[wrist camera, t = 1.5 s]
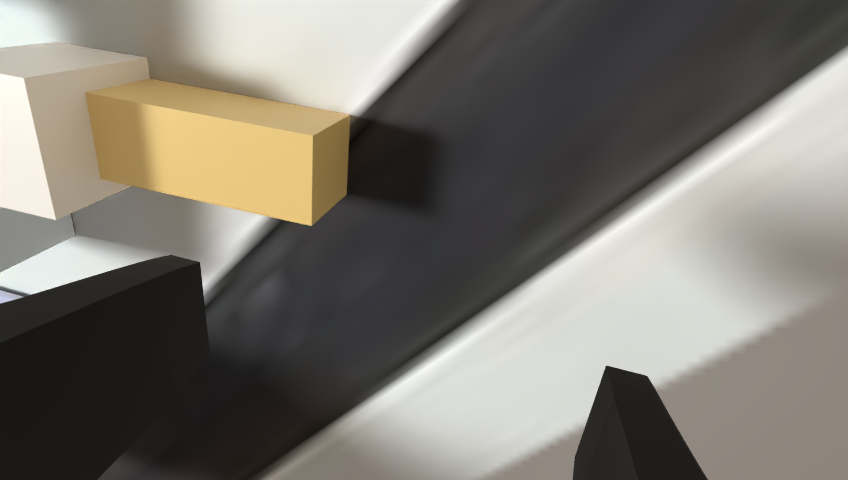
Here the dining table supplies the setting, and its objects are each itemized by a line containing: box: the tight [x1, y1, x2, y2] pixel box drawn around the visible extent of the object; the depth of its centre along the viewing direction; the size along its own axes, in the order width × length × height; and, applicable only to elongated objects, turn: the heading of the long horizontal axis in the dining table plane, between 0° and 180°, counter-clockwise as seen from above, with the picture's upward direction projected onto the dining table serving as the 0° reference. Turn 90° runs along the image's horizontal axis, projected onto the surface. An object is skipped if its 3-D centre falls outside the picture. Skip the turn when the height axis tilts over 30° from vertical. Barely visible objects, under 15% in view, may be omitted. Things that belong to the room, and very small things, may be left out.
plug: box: [0, 42, 350, 226], centre depth 18 cm, size 4×12×5 cm, turn 84°
